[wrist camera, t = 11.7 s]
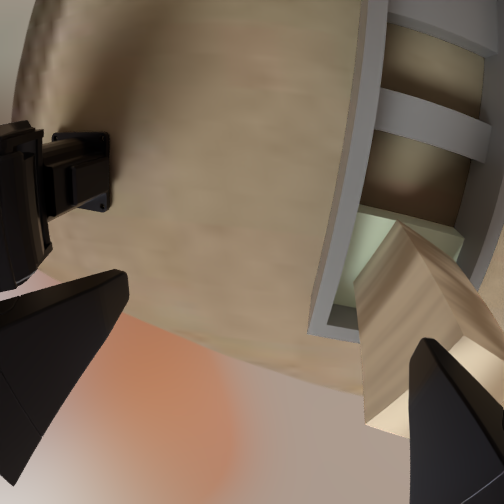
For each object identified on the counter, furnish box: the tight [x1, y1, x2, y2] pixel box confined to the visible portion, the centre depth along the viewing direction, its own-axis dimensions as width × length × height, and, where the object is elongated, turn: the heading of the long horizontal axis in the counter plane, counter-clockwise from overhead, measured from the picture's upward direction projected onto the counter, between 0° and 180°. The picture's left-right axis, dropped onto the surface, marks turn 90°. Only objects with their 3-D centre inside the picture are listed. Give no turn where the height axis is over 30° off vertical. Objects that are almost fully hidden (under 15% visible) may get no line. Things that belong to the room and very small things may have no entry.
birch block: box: [353, 219, 504, 439], centre depth 14 cm, size 5×5×11 cm
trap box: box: [307, 0, 504, 344], centre depth 14 cm, size 10×27×4 cm, turn 173°
